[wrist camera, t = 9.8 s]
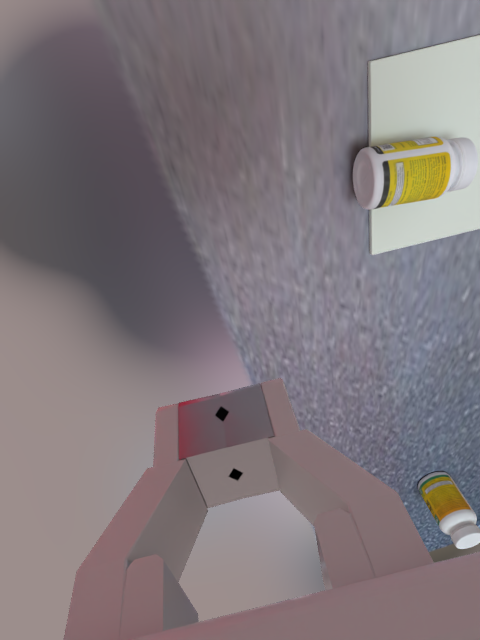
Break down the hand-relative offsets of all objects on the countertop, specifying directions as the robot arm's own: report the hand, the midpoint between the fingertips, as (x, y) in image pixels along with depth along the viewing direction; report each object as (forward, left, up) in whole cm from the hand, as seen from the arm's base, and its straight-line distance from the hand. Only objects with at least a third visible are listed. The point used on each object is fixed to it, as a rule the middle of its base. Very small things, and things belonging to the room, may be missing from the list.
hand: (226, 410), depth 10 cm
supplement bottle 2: (+55, +25, -27) cm, 66 cm away
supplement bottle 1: (+4, +13, -24) cm, 28 cm away
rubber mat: (+4, +21, -27) cm, 35 cm away
